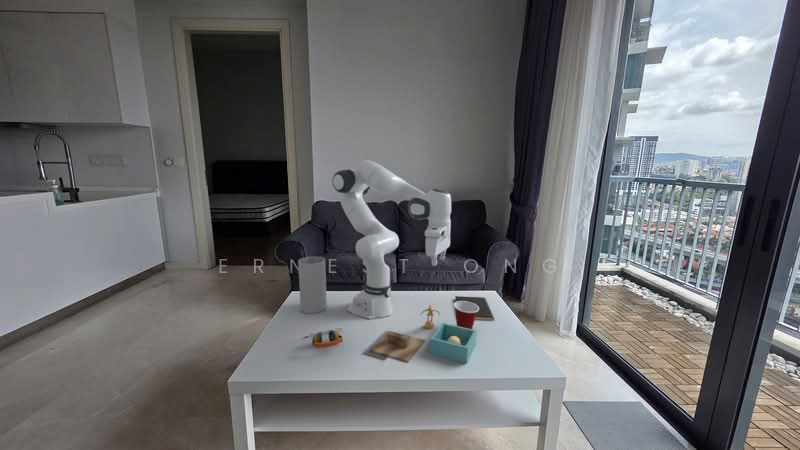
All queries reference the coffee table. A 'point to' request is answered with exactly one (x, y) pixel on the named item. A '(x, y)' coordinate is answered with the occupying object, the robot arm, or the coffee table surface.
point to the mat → (373, 345)
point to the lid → (397, 346)
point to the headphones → (332, 337)
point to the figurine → (429, 323)
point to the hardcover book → (483, 306)
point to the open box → (453, 350)
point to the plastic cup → (465, 313)
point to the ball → (454, 340)
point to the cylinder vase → (312, 284)
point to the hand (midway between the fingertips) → (438, 262)
